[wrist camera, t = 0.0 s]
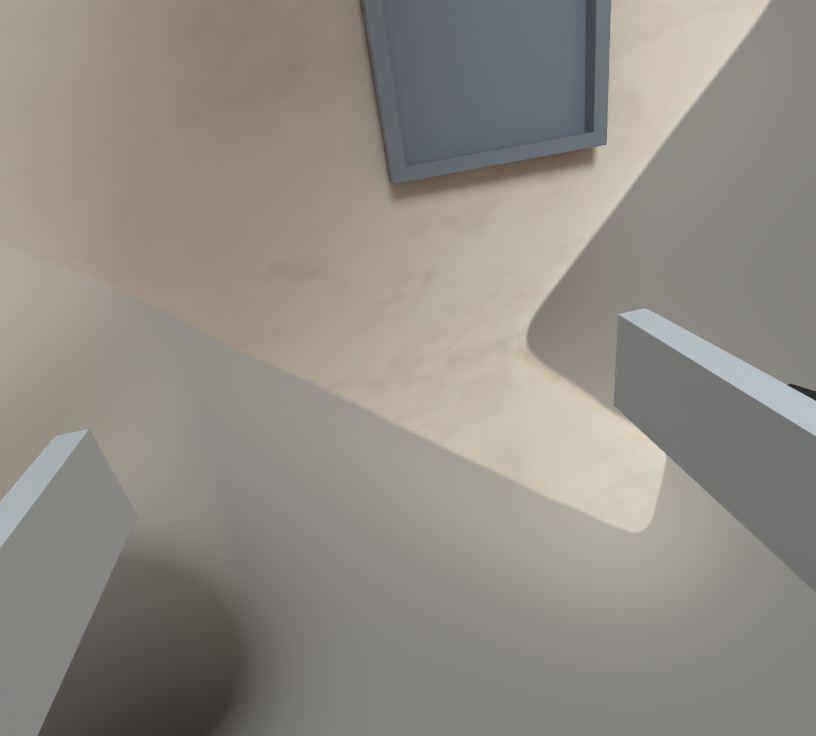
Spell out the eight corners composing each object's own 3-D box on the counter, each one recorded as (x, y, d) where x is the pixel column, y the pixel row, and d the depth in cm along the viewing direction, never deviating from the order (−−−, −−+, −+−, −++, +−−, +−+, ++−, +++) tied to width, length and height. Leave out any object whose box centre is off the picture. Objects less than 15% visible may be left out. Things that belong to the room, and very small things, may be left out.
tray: (344, -101, 29) (346, -116, 27) (597, -136, 31) (615, -152, 29) (389, 181, 37) (393, 184, 35) (592, 143, 38) (606, 144, 36)
